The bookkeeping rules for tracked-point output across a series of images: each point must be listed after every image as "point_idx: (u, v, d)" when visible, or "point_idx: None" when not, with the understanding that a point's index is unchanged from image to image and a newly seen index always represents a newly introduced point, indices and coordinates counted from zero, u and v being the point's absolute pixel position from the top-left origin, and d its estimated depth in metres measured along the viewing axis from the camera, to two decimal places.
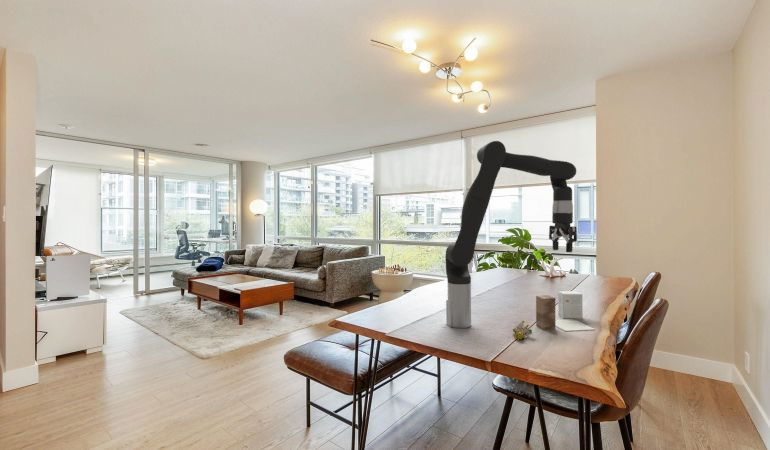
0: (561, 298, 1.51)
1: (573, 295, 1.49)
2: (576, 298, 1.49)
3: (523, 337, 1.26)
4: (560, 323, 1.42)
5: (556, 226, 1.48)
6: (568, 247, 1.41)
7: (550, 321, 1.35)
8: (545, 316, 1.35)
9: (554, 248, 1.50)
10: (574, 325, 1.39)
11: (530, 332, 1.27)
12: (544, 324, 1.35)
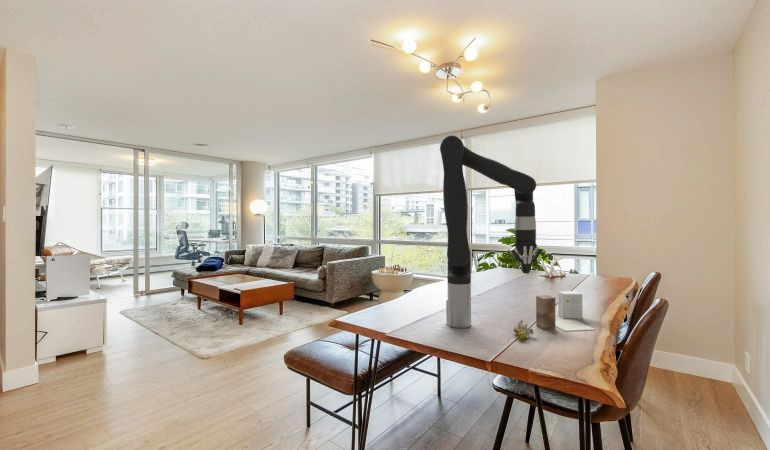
0: (561, 298, 1.51)
1: (573, 295, 1.49)
2: (576, 298, 1.49)
3: (525, 337, 1.26)
4: (560, 323, 1.42)
5: (519, 243, 1.35)
6: (529, 268, 1.36)
7: (550, 321, 1.35)
8: (545, 316, 1.35)
9: None
10: (574, 325, 1.39)
11: (531, 332, 1.27)
12: (544, 324, 1.35)
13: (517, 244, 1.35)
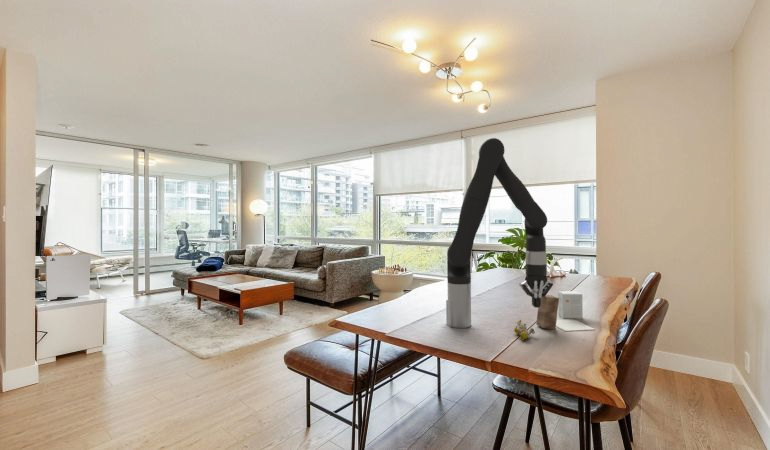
0: (561, 298, 1.51)
1: (573, 295, 1.49)
2: (576, 298, 1.49)
3: (527, 337, 1.26)
4: (560, 323, 1.42)
5: (530, 277, 1.35)
6: (539, 302, 1.36)
7: (551, 321, 1.35)
8: (546, 315, 1.35)
9: None
10: (574, 325, 1.39)
11: (532, 331, 1.27)
12: (545, 323, 1.35)
13: (528, 278, 1.36)
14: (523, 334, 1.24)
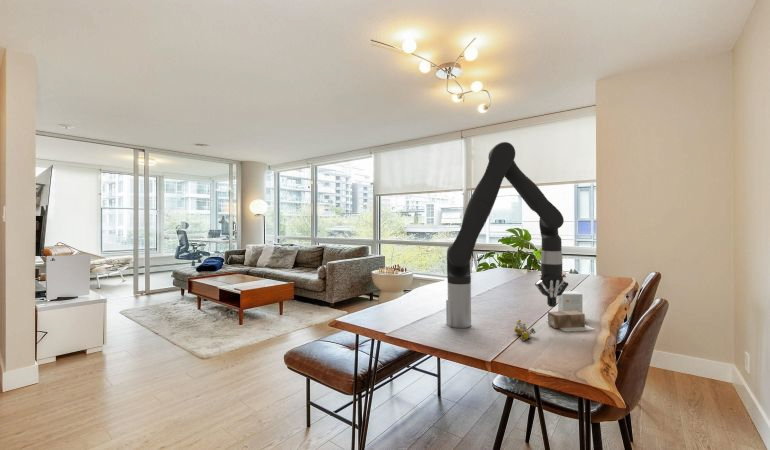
0: (561, 298, 1.51)
1: (573, 295, 1.49)
2: (576, 298, 1.49)
3: (527, 337, 1.26)
4: None
5: (546, 277, 1.36)
6: (555, 301, 1.37)
7: (562, 322, 1.36)
8: (567, 317, 1.36)
9: None
10: None
11: (533, 331, 1.27)
12: (560, 316, 1.36)
13: (543, 278, 1.36)
14: (524, 334, 1.24)
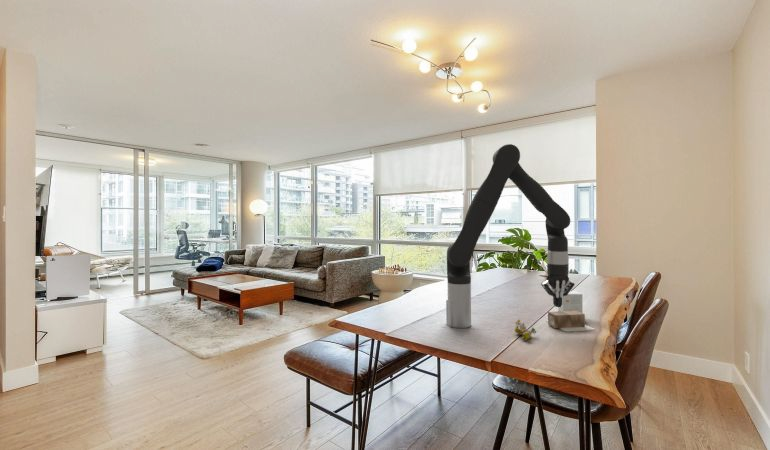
0: None
1: (573, 295, 1.49)
2: (576, 298, 1.49)
3: None
4: None
5: (552, 277, 1.36)
6: (561, 301, 1.37)
7: (562, 322, 1.36)
8: (567, 317, 1.36)
9: None
10: None
11: (533, 331, 1.28)
12: (560, 316, 1.36)
13: (550, 278, 1.37)
14: (526, 334, 1.24)
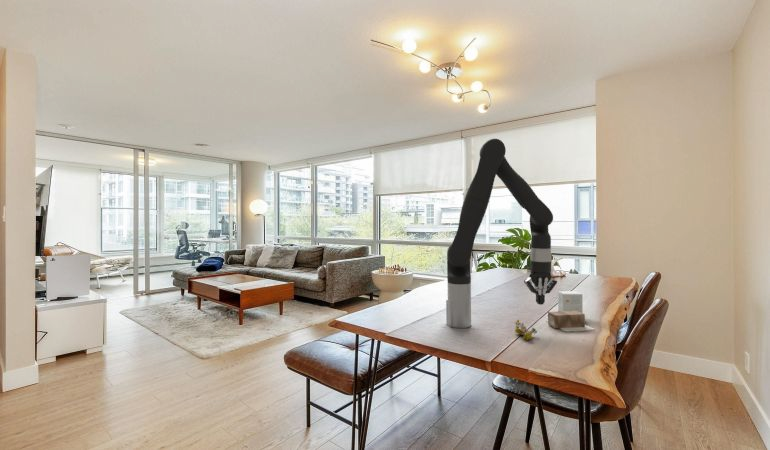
0: (561, 298, 1.51)
1: (573, 295, 1.49)
2: (576, 298, 1.49)
3: None
4: None
5: (535, 274, 1.36)
6: (543, 299, 1.37)
7: (562, 322, 1.36)
8: (567, 317, 1.36)
9: None
10: None
11: (534, 331, 1.28)
12: (560, 316, 1.36)
13: (532, 275, 1.36)
14: (527, 334, 1.23)
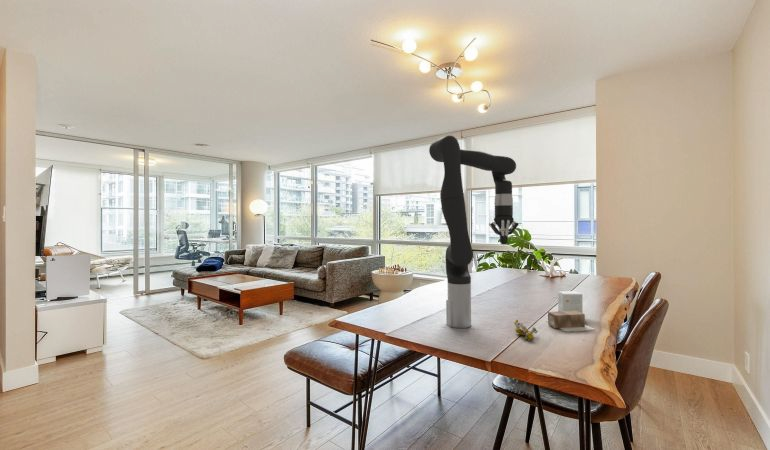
0: (561, 298, 1.51)
1: (573, 295, 1.49)
2: (576, 298, 1.49)
3: None
4: None
5: (498, 217, 1.53)
6: (506, 239, 1.54)
7: (562, 322, 1.36)
8: (567, 317, 1.36)
9: None
10: None
11: (534, 331, 1.28)
12: (560, 316, 1.36)
13: (496, 218, 1.53)
14: (529, 334, 1.23)
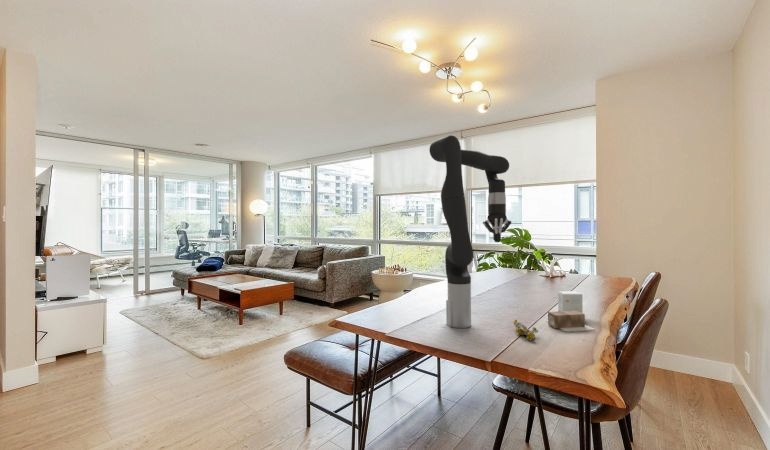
0: (561, 298, 1.51)
1: (573, 295, 1.49)
2: (576, 298, 1.49)
3: None
4: None
5: (491, 215, 1.56)
6: (499, 237, 1.57)
7: (562, 322, 1.36)
8: (567, 317, 1.36)
9: None
10: None
11: (535, 330, 1.28)
12: (560, 316, 1.36)
13: (489, 216, 1.56)
14: (531, 334, 1.23)
